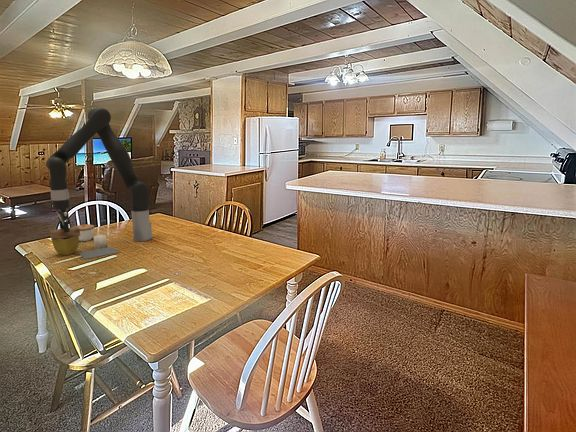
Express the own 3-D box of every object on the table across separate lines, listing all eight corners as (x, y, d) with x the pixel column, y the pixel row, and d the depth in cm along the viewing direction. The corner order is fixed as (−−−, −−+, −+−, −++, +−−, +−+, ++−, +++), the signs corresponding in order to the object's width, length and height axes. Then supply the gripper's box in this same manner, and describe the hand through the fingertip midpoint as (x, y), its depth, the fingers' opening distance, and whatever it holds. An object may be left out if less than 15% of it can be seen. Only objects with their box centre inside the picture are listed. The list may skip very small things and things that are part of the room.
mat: (111, 247, 198) (111, 246, 198) (119, 252, 189) (119, 252, 189) (78, 253, 187) (78, 252, 187) (85, 259, 178) (84, 258, 178)
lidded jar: (89, 236, 218) (87, 220, 215) (99, 239, 211) (97, 223, 209) (70, 240, 209) (68, 224, 207) (79, 243, 203) (77, 227, 201)
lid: (77, 233, 191) (76, 226, 190) (80, 235, 187) (79, 229, 186) (50, 237, 183) (49, 230, 183) (52, 240, 179) (51, 233, 178)
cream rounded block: (105, 244, 203) (103, 233, 201) (108, 246, 198) (107, 236, 197) (93, 246, 199) (92, 235, 197) (96, 249, 194) (95, 238, 193)
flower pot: (68, 257, 182) (65, 239, 180) (53, 255, 184) (50, 238, 182) (81, 251, 190) (79, 234, 188) (66, 250, 192) (64, 233, 190)
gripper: (72, 199, 178) (76, 231, 182) (65, 195, 188) (69, 226, 192) (54, 201, 173) (59, 234, 177) (48, 197, 184) (53, 228, 187)
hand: (64, 230), depth 185 cm, fingers open, 8 cm apart
